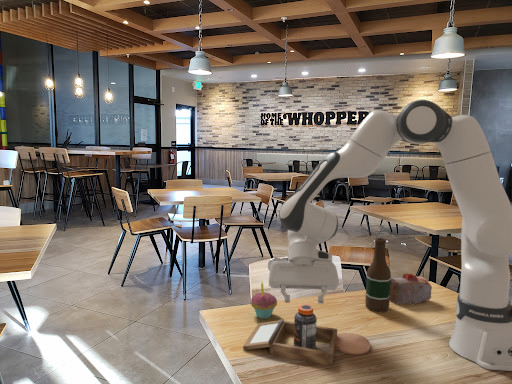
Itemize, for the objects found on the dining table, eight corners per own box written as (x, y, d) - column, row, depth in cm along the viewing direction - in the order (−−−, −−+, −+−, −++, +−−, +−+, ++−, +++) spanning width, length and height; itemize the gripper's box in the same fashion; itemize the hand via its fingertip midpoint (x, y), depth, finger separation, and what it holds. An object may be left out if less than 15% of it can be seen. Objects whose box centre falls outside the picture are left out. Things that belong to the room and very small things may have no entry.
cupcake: (272, 323, 117) (273, 285, 115) (246, 318, 119) (246, 282, 118) (279, 311, 125) (280, 276, 123) (255, 308, 127) (255, 273, 126)
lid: (281, 330, 112) (282, 320, 112) (269, 354, 99) (269, 343, 98) (258, 326, 114) (258, 316, 114) (243, 349, 101) (243, 338, 101)
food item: (417, 295, 141) (419, 269, 140) (432, 303, 133) (434, 276, 132) (385, 298, 137) (386, 272, 136) (399, 307, 130) (400, 279, 129)
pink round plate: (370, 339, 108) (370, 335, 108) (369, 357, 98) (369, 353, 98) (334, 333, 111) (334, 330, 110) (330, 350, 101) (330, 347, 101)
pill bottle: (292, 341, 106) (293, 302, 105) (313, 340, 106) (314, 302, 105) (295, 352, 100) (296, 311, 99) (317, 352, 100) (319, 311, 99)
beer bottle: (390, 313, 124) (394, 242, 122) (366, 311, 126) (369, 240, 123) (387, 304, 132) (391, 236, 129) (364, 302, 133) (367, 235, 131)
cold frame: (336, 339, 107) (337, 326, 107) (331, 365, 94) (332, 351, 94) (280, 330, 112) (280, 317, 112) (267, 354, 99) (267, 340, 99)
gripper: (268, 252, 113) (267, 296, 105) (337, 254, 112) (341, 299, 104) (268, 262, 118) (267, 305, 110) (334, 264, 117) (338, 307, 109)
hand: (304, 302), depth 107 cm, fingers open, 8 cm apart
